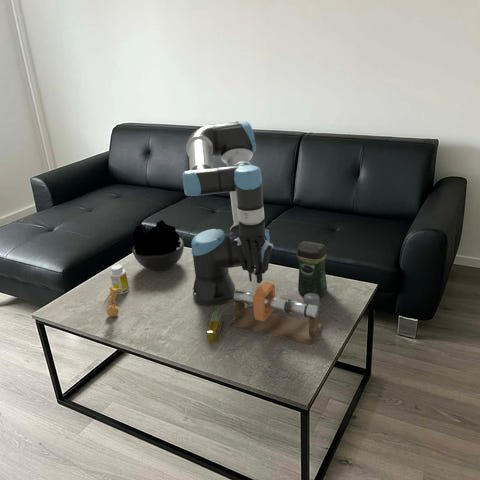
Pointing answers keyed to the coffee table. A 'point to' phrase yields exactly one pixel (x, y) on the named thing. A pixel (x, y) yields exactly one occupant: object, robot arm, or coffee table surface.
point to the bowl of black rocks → (158, 247)
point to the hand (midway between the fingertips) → (256, 290)
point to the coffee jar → (312, 268)
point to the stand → (277, 324)
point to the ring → (259, 298)
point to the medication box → (215, 326)
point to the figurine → (112, 309)
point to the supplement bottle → (119, 279)
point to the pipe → (279, 304)
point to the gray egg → (312, 299)
